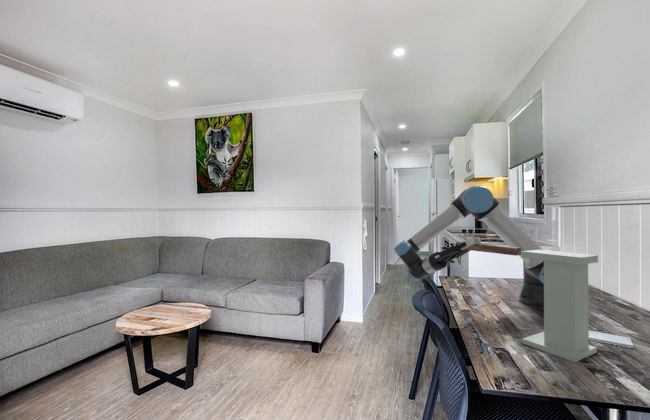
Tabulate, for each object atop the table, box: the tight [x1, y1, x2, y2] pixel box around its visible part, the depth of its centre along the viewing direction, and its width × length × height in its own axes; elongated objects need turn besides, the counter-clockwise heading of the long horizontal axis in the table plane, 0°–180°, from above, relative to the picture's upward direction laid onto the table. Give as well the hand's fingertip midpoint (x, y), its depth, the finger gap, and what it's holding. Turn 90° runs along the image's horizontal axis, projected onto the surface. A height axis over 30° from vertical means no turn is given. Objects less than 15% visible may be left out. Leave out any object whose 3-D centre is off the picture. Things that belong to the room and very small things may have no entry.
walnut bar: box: [455, 241, 521, 256], centre depth 115 cm, size 3×24×2 cm, turn 28°
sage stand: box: [521, 249, 599, 363], centre depth 94 cm, size 13×16×29 cm
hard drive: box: [589, 329, 635, 350], centre depth 101 cm, size 2×8×12 cm
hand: (476, 240), depth 119 cm, fingers closed on walnut bar, 3 cm apart
